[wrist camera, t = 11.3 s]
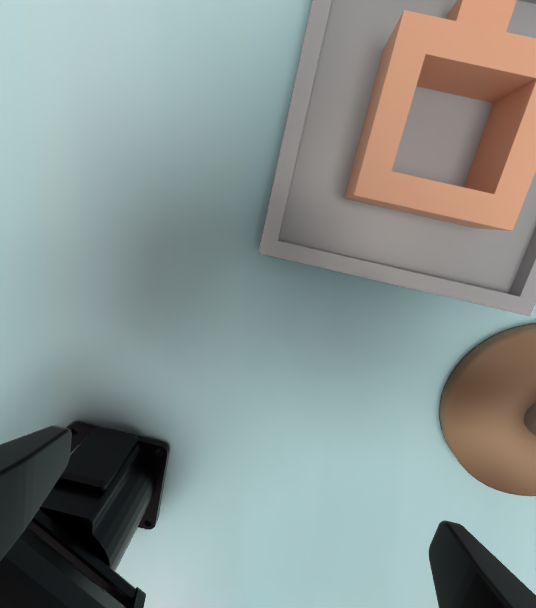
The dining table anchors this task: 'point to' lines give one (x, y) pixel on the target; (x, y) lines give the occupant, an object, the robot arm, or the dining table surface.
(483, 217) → the ring
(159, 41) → the dining table surface
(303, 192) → the tray
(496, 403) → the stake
